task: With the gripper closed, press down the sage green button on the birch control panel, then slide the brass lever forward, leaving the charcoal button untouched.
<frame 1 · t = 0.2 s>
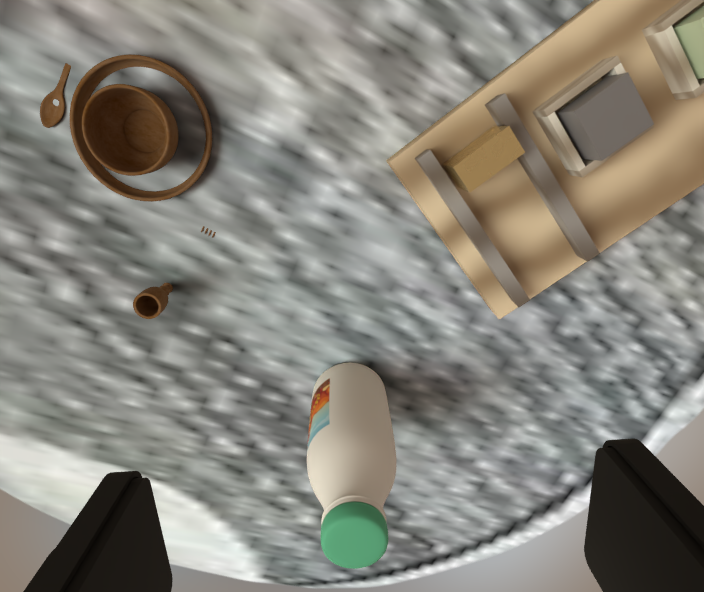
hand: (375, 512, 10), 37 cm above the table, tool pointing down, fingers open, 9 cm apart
control panel: (578, 139, 43), on the table
charcoal button: (603, 118, 37), point 6 cm above the table, slide at 0.0 cm
brass lever: (481, 158, 38), point 5 cm above the table, slide at 0.0 cm
milk bottle: (349, 391, 51), on the table
place setting: (135, 173, 44), on the table
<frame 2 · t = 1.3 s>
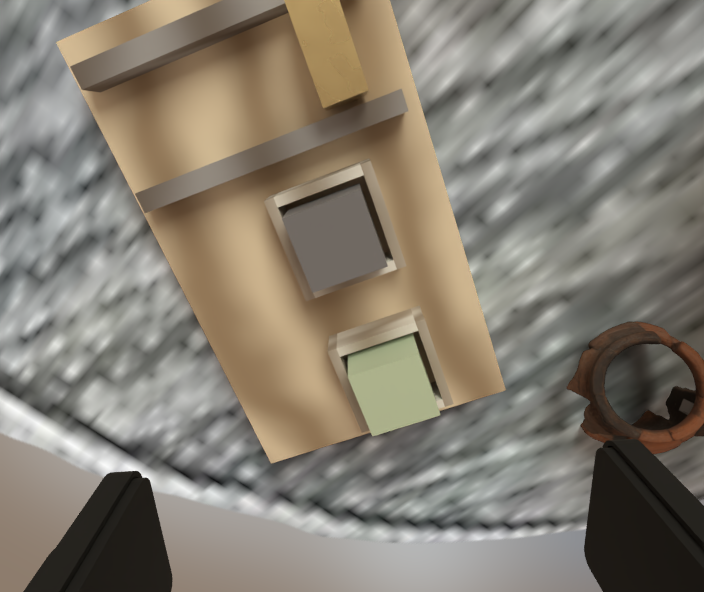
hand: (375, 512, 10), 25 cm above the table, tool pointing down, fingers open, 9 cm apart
control panel: (311, 227, 33), on the table
brown curved piece: (625, 377, 37), on the table
charcoal button: (336, 237, 27), point 6 cm above the table, slide at 0.0 cm
brass lever: (329, 52, 25), point 5 cm above the table, slide at 0.0 cm
green button: (392, 383, 30), point 6 cm above the table, slide at 0.0 cm
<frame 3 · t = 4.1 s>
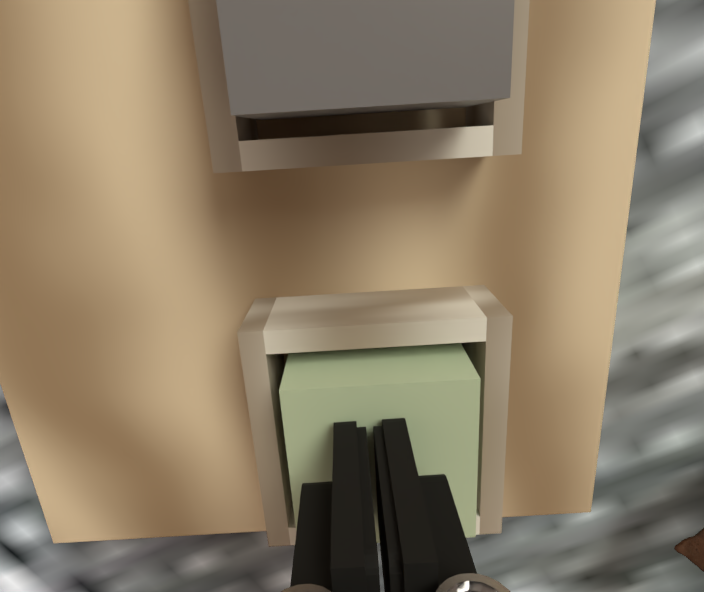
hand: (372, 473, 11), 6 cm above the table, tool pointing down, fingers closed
control panel: (285, 43, 14), on the table
green button: (379, 430, 13), point 5 cm above the table, slide at 1.2 cm, touching gripper
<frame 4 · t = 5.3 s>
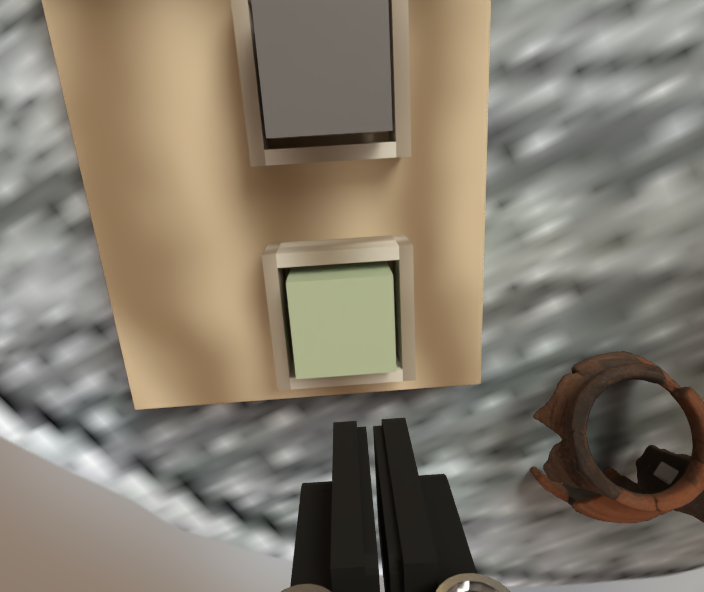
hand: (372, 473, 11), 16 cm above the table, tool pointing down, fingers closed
control panel: (284, 90, 23), on the table
brown curved piece: (596, 421, 30), on the table
charcoal button: (325, 71, 17), point 6 cm above the table, slide at 0.0 cm
green button: (342, 316, 22), point 5 cm above the table, slide at 1.3 cm
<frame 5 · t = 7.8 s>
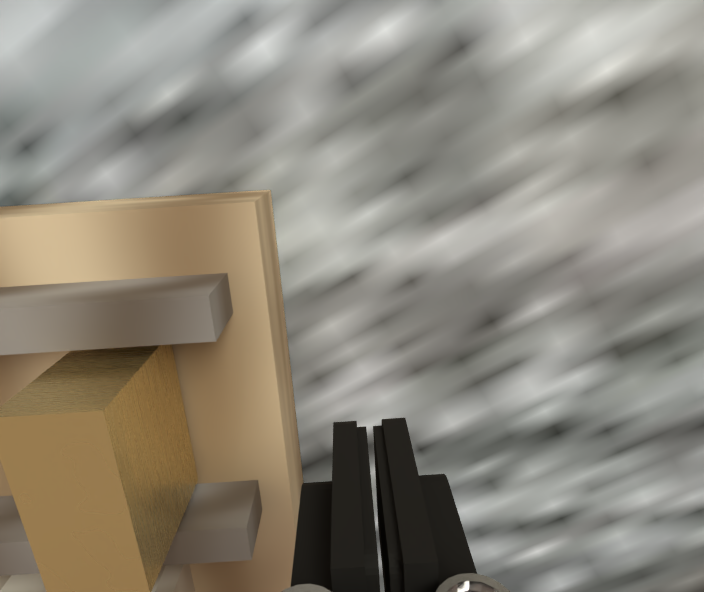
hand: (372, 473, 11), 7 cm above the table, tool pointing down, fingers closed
control panel: (99, 562, 20), on the table
brass lever: (114, 455, 12), point 5 cm above the table, slide at 0.0 cm
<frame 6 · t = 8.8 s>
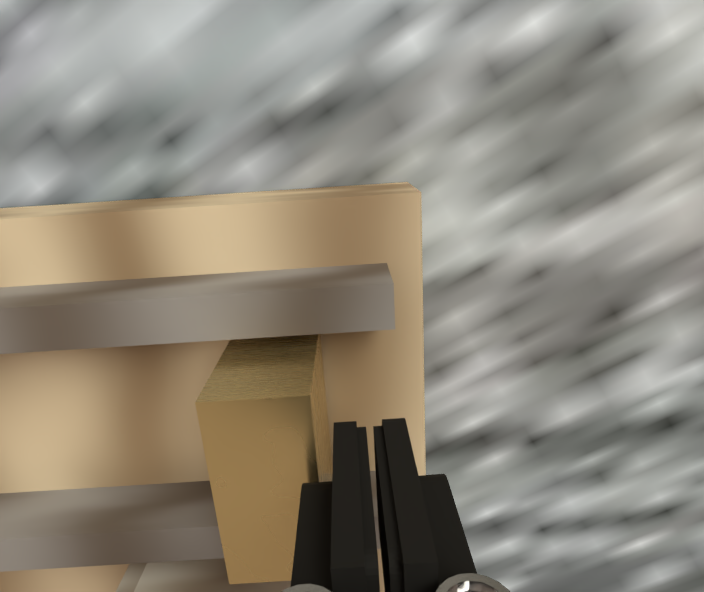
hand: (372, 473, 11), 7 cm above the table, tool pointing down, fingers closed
control panel: (206, 552, 21), on the table
brass lever: (278, 442, 13), point 5 cm above the table, slide at 0.2 cm, touching gripper
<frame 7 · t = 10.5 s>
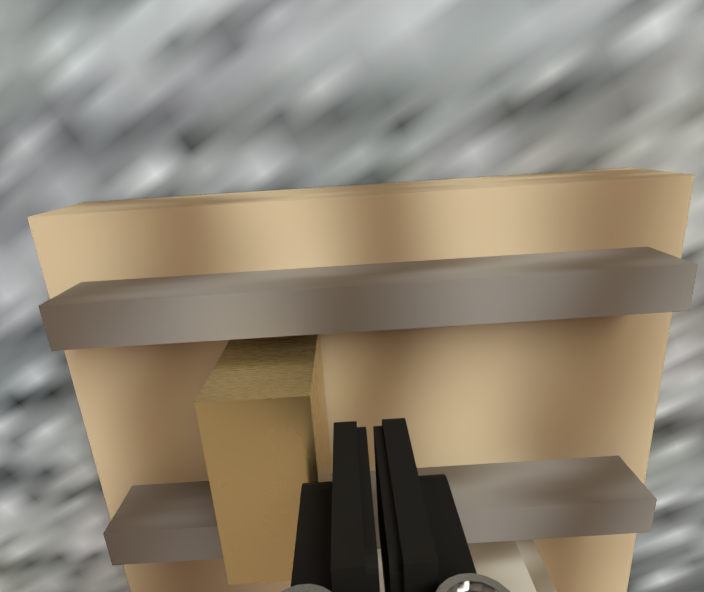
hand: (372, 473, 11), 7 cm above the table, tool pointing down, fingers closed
control panel: (377, 542, 21), on the table
brass lever: (277, 443, 13), point 5 cm above the table, slide at 7.6 cm, touching gripper
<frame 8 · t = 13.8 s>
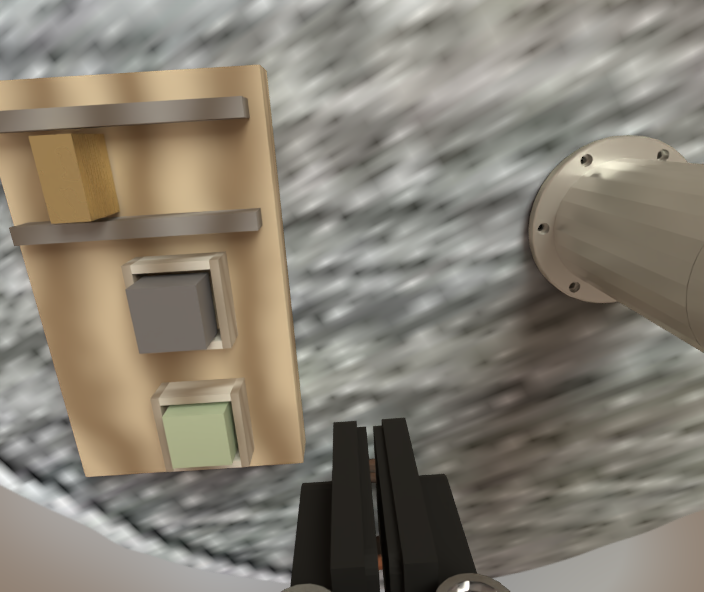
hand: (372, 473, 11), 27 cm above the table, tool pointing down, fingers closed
control panel: (174, 286, 38), on the table
charcoal button: (174, 311, 32), point 6 cm above the table, slide at 0.0 cm
brass lever: (78, 177, 30), point 5 cm above the table, slide at 7.7 cm
green button: (203, 429, 36), point 5 cm above the table, slide at 1.3 cm
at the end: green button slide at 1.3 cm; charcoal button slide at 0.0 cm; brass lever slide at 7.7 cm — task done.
